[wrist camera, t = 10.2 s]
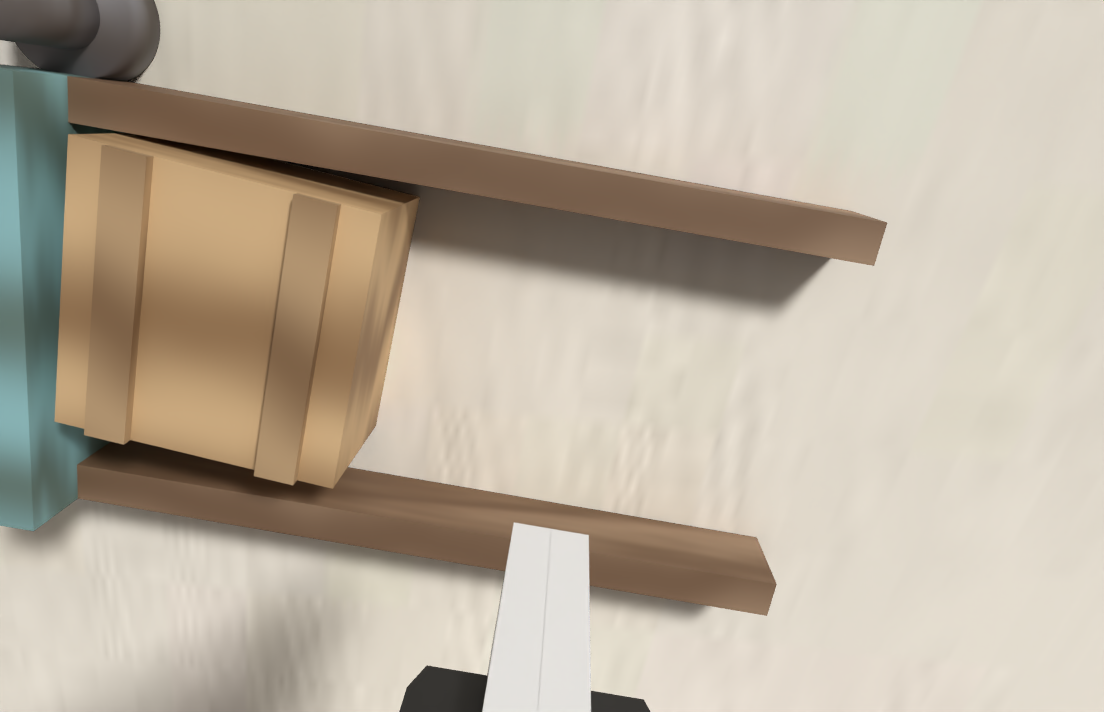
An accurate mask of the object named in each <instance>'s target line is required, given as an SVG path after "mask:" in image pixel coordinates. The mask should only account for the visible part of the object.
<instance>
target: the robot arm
mask: <svg viewBox="0 0 1104 712" xmlns="http://www.w3.org/2000/svg"><path fill="white" fill-rule="evenodd" d="M400 712H650V710H649V708H648V707H647V705H646V703H645V701H644V700H643V699H637V698H631V697H625V696H619V695H613V694H607V693H601V692H595V691H591V673H590V595H589V535H585V534H579V533H573V532H567V531H561V530H556V529H550V528H544V527H538V526H532V525H526V524H520V523H514V524H513V530H512V536H511V541H510V547H509V553H508V558H507V564H506V570H505V575H504V581H503V587H502V592H501V598H500V604H499V609H498V615H497V621H496V626H495V632H494V638H493V644H492V650H491V656H490V662H489V668H488V674H487V676H486V675H480V674H474V673H468V672H462V671H456V670H450V669H444V668H438V667H432V666H426V667H425V668H424V669H423V670H422V671H421V673H420V674H419V675H418V676H417V677H416V678H415V679H414V680H413V681H412V682H411V683H410V685H409V686H408V687H407V689H406V692H405V695H404V699H403V702H402V705H401V708H400Z"/></svg>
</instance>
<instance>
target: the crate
mask: <svg viewBox="0 0 1104 712" xmlns="http://www.w3.org/2000/svg"><path fill="white" fill-rule="evenodd" d="M419 198H420V197H418V196H414V195H410V194H406V193H402V192H398V191H394V190H391V189H387V188H383V187H379V186H375V185H371V184H367V183H363V182H359V181H356V180H352V179H348V178H344V177H340V176H336V175H332V174H328V173H324V172H321V171H317V170H313V169H309V168H305V167H301V166H297V165H293V164H289V163H285V162H282V161H278V160H274V159H270V158H266V157H260V156H255V155H249V154H243V153H238V152H232V151H226V150H221V149H215V148H210V147H204V146H198V145H193V144H187V143H182V142H176V141H170V140H165V139H159V138H153V137H148V136H142V135H137V134H131V133H105V134H68V147H67V169H66V190H65V211H64V232H63V253H62V274H61V295H60V317H59V338H58V359H57V380H56V401H55V422H58V423H62V424H66V425H70V426H75V427H79V428H83V429H84V435H86V436H90V437H94V438H98V439H102V440H107V441H111V442H115V443H119V444H123V445H124V444H125V443H127V442H128V441H130V440H133V441H137V442H141V443H145V444H149V445H153V446H158V447H162V448H166V449H170V450H174V451H178V452H182V453H187V454H191V455H195V456H199V457H203V458H207V459H211V460H216V461H220V462H224V463H228V464H232V465H236V466H240V467H245V468H249V469H253V470H254V476H256V477H260V478H264V479H268V480H273V481H277V482H281V483H285V484H289V485H294V483H295V482H296V481H297V480H298V481H303V482H307V483H311V484H315V485H319V486H323V487H327V488H332V489H333V488H334V486H335V485H336V483H337V482H338V480H339V479H340V477H341V476H342V475H343V473H344V472H345V470H346V469H347V467H348V466H349V464H350V463H351V461H352V460H353V458H354V457H355V455H356V454H357V453H358V451H359V450H360V448H361V447H362V445H363V444H364V442H365V441H366V439H367V438H368V436H369V435H370V433H371V432H372V431H373V429H374V428H375V426H376V422H377V417H378V411H379V406H380V401H381V396H382V391H383V385H384V380H385V375H386V370H387V365H388V359H389V354H390V349H391V344H392V339H393V333H394V328H395V323H396V318H397V313H398V307H399V302H400V297H401V292H402V287H403V281H404V276H405V271H406V266H407V261H408V255H409V250H410V245H411V240H412V235H413V229H414V224H415V219H416V214H417V209H418V203H419Z"/></svg>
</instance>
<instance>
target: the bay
mask: <svg viewBox="0 0 1104 712" xmlns="http://www.w3.org/2000/svg"><path fill="white" fill-rule="evenodd" d="M159 39H160V21H159V15H158V11H157V8H156V5H155V2H154V0H0V40H5V41H11V42H16V44H17V46H18V47H19V48H20V49H21V51H22V52H23V53H24V54H25V55H26V56H27V58H28V59H29V60H31V61H32V62H33V63H34V64H35V65H36V66H38V67H39V68H41V69H39V68H29V67H19V66H10V65H0V526H6V527H12V528H18V529H24V530H30V531H35V530H36V529H37V528H39V527H40V526H41V525H43V524H44V523H45V522H47V521H48V520H49V519H51V518H52V517H53V516H55V515H56V514H57V513H59V512H60V511H62V510H63V509H64V508H66V507H67V506H68V505H70V504H71V503H72V502H74V501H75V500H76V499H78V498H79V499H84V500H90V501H96V502H102V503H108V504H114V505H120V506H126V507H131V508H137V509H143V510H149V511H155V512H161V513H167V514H173V515H178V516H184V517H190V518H196V519H202V520H208V521H214V522H220V523H225V524H231V525H237V526H243V527H249V528H255V529H261V530H267V531H272V532H278V533H284V534H290V535H296V536H302V537H308V538H314V539H319V540H325V541H331V542H337V543H343V544H349V545H355V546H361V547H366V548H372V549H378V550H384V551H390V552H396V553H402V554H408V555H413V556H419V557H425V558H431V559H437V560H443V561H449V562H455V563H460V564H466V565H472V566H478V567H484V568H490V569H496V570H502V571H505V570H506V564H507V558H508V553H509V547H510V541H511V536H512V530H513V524H514V523H520V524H526V525H532V526H538V527H544V528H550V529H556V530H561V531H567V532H573V533H579V534H585V535H589V585H590V586H596V587H601V588H607V589H613V590H619V591H625V592H631V593H637V594H643V595H648V596H654V597H660V598H666V599H672V600H678V601H684V602H690V603H695V604H701V605H707V606H713V607H719V608H725V609H731V610H737V611H742V612H748V613H754V614H760V615H766V616H767V614H768V610H769V607H770V604H771V601H772V597H773V594H774V591H775V588H776V582H775V579H774V577H773V575H772V572H771V570H770V568H769V565H768V563H767V561H766V558H765V556H764V554H763V551H762V549H761V546H760V544H759V542H758V539H757V538H756V537H750V536H745V535H739V534H733V533H727V532H721V531H715V530H710V529H704V528H698V527H692V526H686V525H681V524H675V523H669V522H663V521H657V520H651V519H646V518H640V517H634V516H628V515H622V514H617V513H611V512H605V511H599V510H593V509H587V508H582V507H576V506H570V505H564V504H558V503H552V502H547V501H541V500H535V499H529V498H523V497H518V496H512V495H506V494H500V493H494V492H488V491H483V490H477V489H471V488H465V487H459V486H454V485H448V484H442V483H436V482H430V481H424V480H419V479H413V478H407V477H401V476H395V475H390V474H384V473H378V472H372V471H366V470H360V469H355V468H349V467H347V469H346V470H345V472H344V473H343V475H342V476H341V477H340V479H339V480H338V482H337V483H336V485H335V486H334V488H333V489H332V488H327V487H323V486H319V485H315V484H311V483H307V482H303V481H298V480H297V481H296V482H295V483H294V485H289V484H285V483H281V482H277V481H273V480H268V479H264V478H260V477H256V476H254V470H253V469H249V468H245V467H240V466H236V465H232V464H228V463H224V462H220V461H216V460H211V459H207V458H203V457H199V456H195V455H191V454H187V453H182V452H178V451H174V450H170V449H166V448H162V447H158V446H153V445H149V444H145V443H141V442H137V441H133V440H130V441H128V442H127V443H125V444H124V445H123V444H119V443H115V442H111V441H107V440H102V439H98V438H94V437H90V436H86V435H84V429H83V428H79V427H75V426H70V425H66V424H62V423H58V422H55V401H56V380H57V359H58V338H59V317H60V295H61V274H62V253H63V232H64V211H65V190H66V169H67V147H68V134H105V133H131V134H137V135H142V136H148V137H153V138H159V139H165V140H170V141H176V142H182V143H187V144H193V145H198V146H204V147H210V148H215V149H221V150H226V151H232V152H238V153H243V154H249V155H255V156H260V157H266V158H271V159H277V160H283V161H288V162H294V163H300V164H305V165H311V166H316V167H322V168H328V169H333V170H339V171H344V172H350V173H356V174H361V175H367V176H373V177H378V178H384V179H389V180H395V181H401V182H406V183H412V184H418V185H423V186H429V187H434V188H440V189H446V190H451V191H457V192H462V193H468V194H474V195H479V196H485V197H491V198H496V199H502V200H507V201H513V202H519V203H524V204H530V205H536V206H541V207H547V208H552V209H558V210H564V211H569V212H575V213H580V214H586V215H592V216H597V217H603V218H609V219H614V220H620V221H625V222H631V223H637V224H642V225H648V226H654V227H659V228H665V229H670V230H676V231H682V232H687V233H693V234H698V235H704V236H710V237H715V238H721V239H727V240H732V241H738V242H743V243H749V244H755V245H760V246H766V247H771V248H777V249H783V250H788V251H794V252H800V253H805V254H811V255H816V256H822V257H828V258H833V259H839V260H845V261H850V262H856V263H861V264H867V265H873V266H874V264H875V261H876V258H877V254H878V251H879V248H880V245H881V241H882V238H883V235H884V232H885V228H886V225H887V222H884V221H880V220H877V219H874V218H871V217H868V216H865V215H862V214H859V213H856V212H853V211H848V210H842V209H837V208H831V207H825V206H820V205H814V204H809V203H803V202H797V201H792V200H786V199H781V198H775V197H770V196H764V195H758V194H753V193H747V192H742V191H736V190H730V189H725V188H719V187H714V186H708V185H703V184H697V183H691V182H686V181H680V180H675V179H669V178H663V177H658V176H652V175H647V174H641V173H636V172H630V171H624V170H619V169H613V168H608V167H602V166H596V165H591V164H585V163H580V162H574V161H568V160H563V159H557V158H552V157H546V156H541V155H535V154H529V153H524V152H518V151H513V150H507V149H501V148H496V147H490V146H485V145H479V144H474V143H468V142H462V141H457V140H451V139H446V138H440V137H434V136H429V135H423V134H418V133H412V132H407V131H401V130H395V129H390V128H384V127H379V126H373V125H367V124H362V123H356V122H351V121H345V120H340V119H334V118H328V117H323V116H317V115H312V114H306V113H300V112H295V111H289V110H284V109H278V108H272V107H267V106H261V105H256V104H250V103H245V102H239V101H233V100H228V99H222V98H217V97H211V96H205V95H200V94H194V93H189V92H183V91H178V90H172V89H166V88H161V87H155V86H150V85H144V84H138V83H133V82H127V81H128V80H131V79H133V78H135V77H136V76H138V75H139V74H141V73H142V72H143V71H144V70H145V69H146V68H147V67H148V66H149V64H150V63H151V62H152V60H153V58H154V56H155V54H156V51H157V48H158V44H159Z"/></svg>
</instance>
